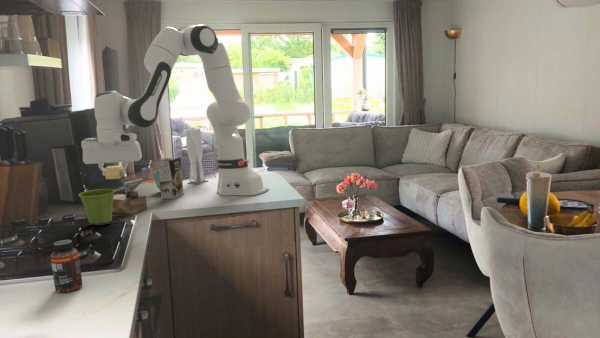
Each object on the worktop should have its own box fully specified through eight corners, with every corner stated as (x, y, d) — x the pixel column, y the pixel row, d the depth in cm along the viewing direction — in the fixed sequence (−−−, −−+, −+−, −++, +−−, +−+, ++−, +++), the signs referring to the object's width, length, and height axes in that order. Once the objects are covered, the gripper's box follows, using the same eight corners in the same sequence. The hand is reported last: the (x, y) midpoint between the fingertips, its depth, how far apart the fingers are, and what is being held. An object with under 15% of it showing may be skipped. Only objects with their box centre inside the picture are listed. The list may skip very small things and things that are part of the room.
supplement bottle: (81, 281, 127) (75, 236, 126) (84, 289, 122) (78, 242, 120) (54, 287, 125) (48, 241, 123) (56, 295, 120) (49, 247, 118)
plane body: (147, 208, 203) (145, 189, 202) (132, 213, 196) (130, 193, 195) (118, 206, 210) (116, 187, 208) (102, 211, 203) (100, 192, 201)
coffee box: (175, 198, 219) (171, 160, 216) (160, 198, 220) (157, 160, 217) (184, 194, 227) (181, 157, 225) (170, 194, 229) (167, 157, 226)
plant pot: (76, 225, 182) (72, 193, 181) (108, 218, 191) (104, 187, 189) (92, 230, 174) (88, 197, 173) (125, 222, 183) (121, 190, 181)
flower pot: (166, 193, 230) (165, 173, 229) (154, 192, 235) (152, 172, 234) (182, 190, 237) (180, 170, 235) (169, 188, 242) (168, 169, 241)
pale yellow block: (120, 178, 190) (118, 167, 189) (105, 179, 189) (104, 168, 189) (123, 176, 195) (122, 165, 194) (109, 177, 194) (108, 166, 194)
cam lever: (128, 197, 199) (125, 172, 198) (124, 197, 201) (121, 172, 199) (150, 191, 209) (147, 167, 207) (146, 191, 210) (144, 167, 208)
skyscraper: (185, 183, 253) (179, 125, 248) (194, 180, 260) (190, 123, 255) (199, 184, 249) (194, 124, 245) (209, 180, 256) (204, 123, 252)
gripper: (77, 139, 186) (82, 177, 188) (137, 135, 187) (140, 174, 189) (83, 137, 192) (87, 175, 194) (140, 134, 193) (144, 171, 196)
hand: (114, 174), depth 192 cm, fingers closed on pale yellow block, 5 cm apart
